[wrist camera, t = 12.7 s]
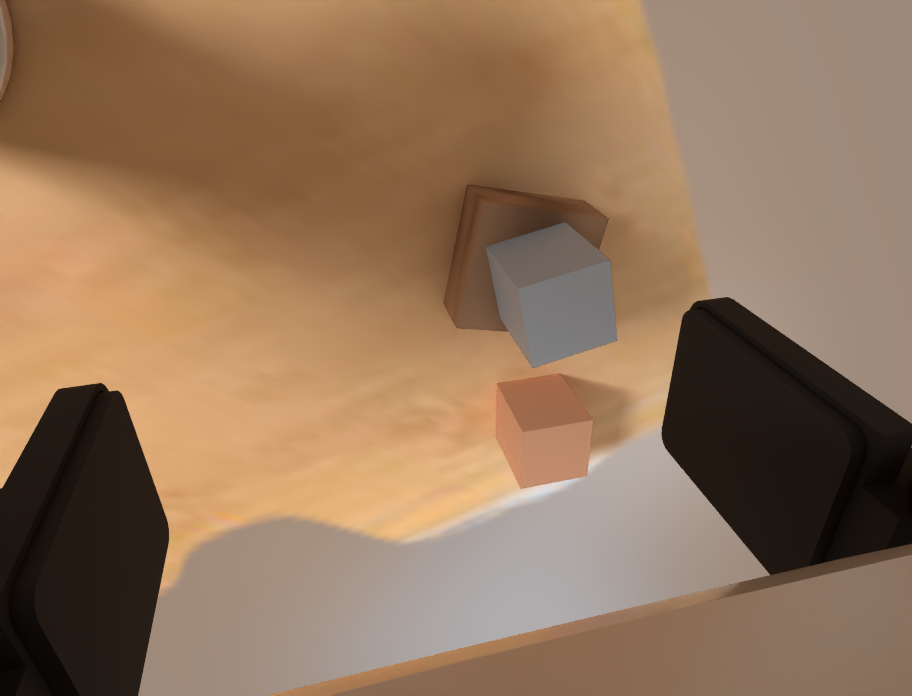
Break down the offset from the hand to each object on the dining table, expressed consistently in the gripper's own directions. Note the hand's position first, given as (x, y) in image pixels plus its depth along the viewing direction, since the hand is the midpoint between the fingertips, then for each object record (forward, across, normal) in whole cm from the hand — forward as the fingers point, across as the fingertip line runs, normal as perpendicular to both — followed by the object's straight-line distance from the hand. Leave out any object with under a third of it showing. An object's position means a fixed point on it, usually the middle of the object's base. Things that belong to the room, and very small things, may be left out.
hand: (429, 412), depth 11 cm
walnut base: (+29, -11, +9) cm, 32 cm away
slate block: (+25, -11, +9) cm, 29 cm away
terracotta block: (+28, -12, +22) cm, 38 cm away
